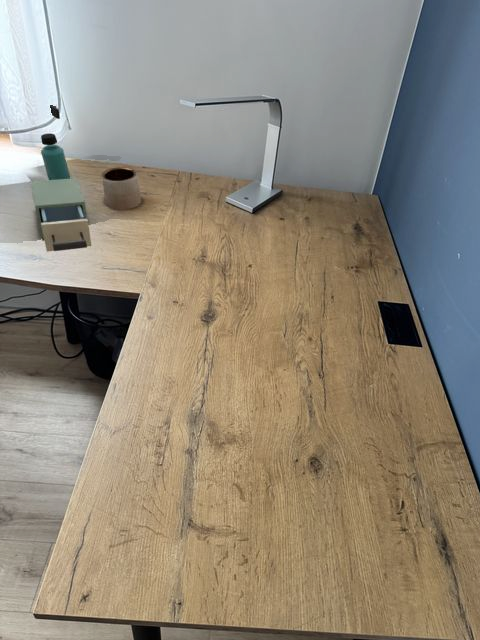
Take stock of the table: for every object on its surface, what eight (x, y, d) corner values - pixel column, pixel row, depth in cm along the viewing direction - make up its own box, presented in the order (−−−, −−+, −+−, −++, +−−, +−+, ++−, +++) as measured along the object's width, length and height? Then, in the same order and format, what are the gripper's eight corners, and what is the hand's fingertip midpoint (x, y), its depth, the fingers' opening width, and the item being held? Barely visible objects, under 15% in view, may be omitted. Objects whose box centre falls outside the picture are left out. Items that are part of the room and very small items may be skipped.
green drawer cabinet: (89, 236, 143) (84, 201, 136) (42, 241, 139) (34, 205, 132) (81, 211, 153) (76, 178, 146) (37, 215, 148) (29, 181, 141)
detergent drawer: (96, 262, 133) (92, 233, 127) (50, 268, 129) (44, 238, 123) (84, 225, 146) (80, 196, 140) (42, 229, 142) (36, 200, 136)
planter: (124, 192, 164) (120, 163, 158) (148, 202, 160) (145, 172, 153) (99, 204, 157) (92, 175, 151) (123, 215, 153) (118, 185, 146)
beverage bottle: (79, 202, 155) (63, 136, 142) (57, 207, 153) (39, 140, 139) (72, 194, 159) (56, 129, 146) (51, 199, 156) (32, 133, 143)
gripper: (44, 102, 165) (77, 124, 155) (-36, 113, 151) (-5, 138, 141) (40, 77, 160) (74, 98, 150) (-43, 86, 146) (-12, 110, 136)
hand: (36, 117), depth 146 cm, fingers open, 13 cm apart
